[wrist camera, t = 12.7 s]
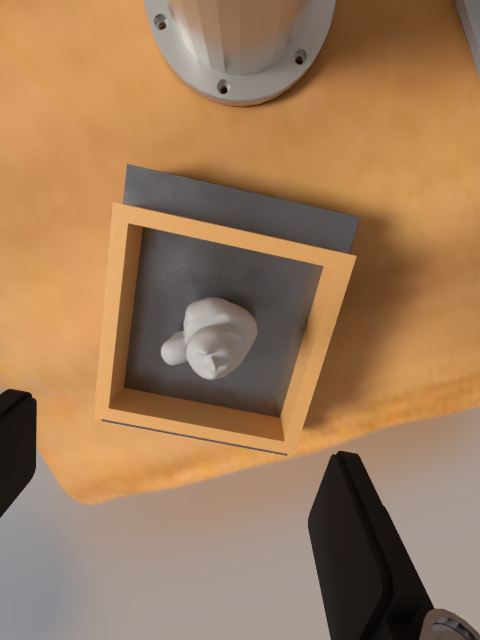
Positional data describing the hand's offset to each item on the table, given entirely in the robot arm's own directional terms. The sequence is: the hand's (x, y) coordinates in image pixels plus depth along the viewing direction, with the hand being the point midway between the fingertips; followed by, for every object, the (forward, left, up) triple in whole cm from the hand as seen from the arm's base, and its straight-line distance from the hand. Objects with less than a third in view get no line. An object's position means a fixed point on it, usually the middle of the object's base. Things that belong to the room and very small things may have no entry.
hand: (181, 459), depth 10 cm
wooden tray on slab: (+1, 0, -19) cm, 19 cm away
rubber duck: (+1, 0, -15) cm, 15 cm away
